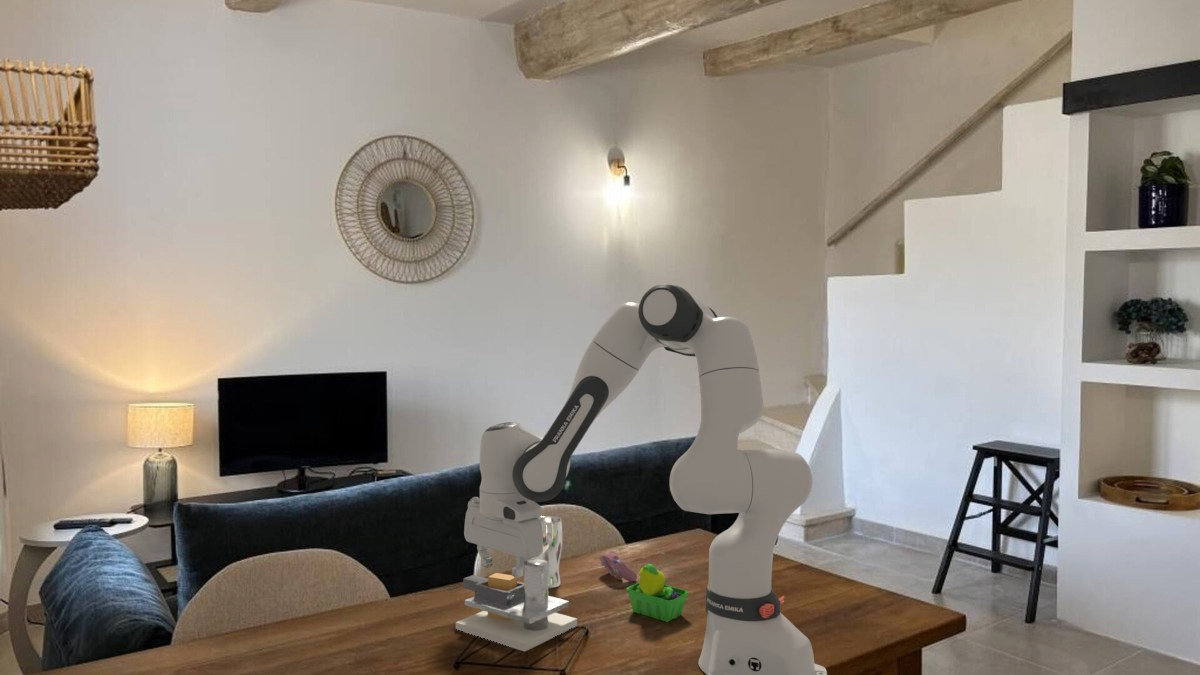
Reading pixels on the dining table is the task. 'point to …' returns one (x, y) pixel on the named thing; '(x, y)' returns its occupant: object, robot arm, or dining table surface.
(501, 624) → the board
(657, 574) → the fruit basket
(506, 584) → the wedge
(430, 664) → the dining table surface
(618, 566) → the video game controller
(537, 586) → the grey metal fixture
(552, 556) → the beer glass
